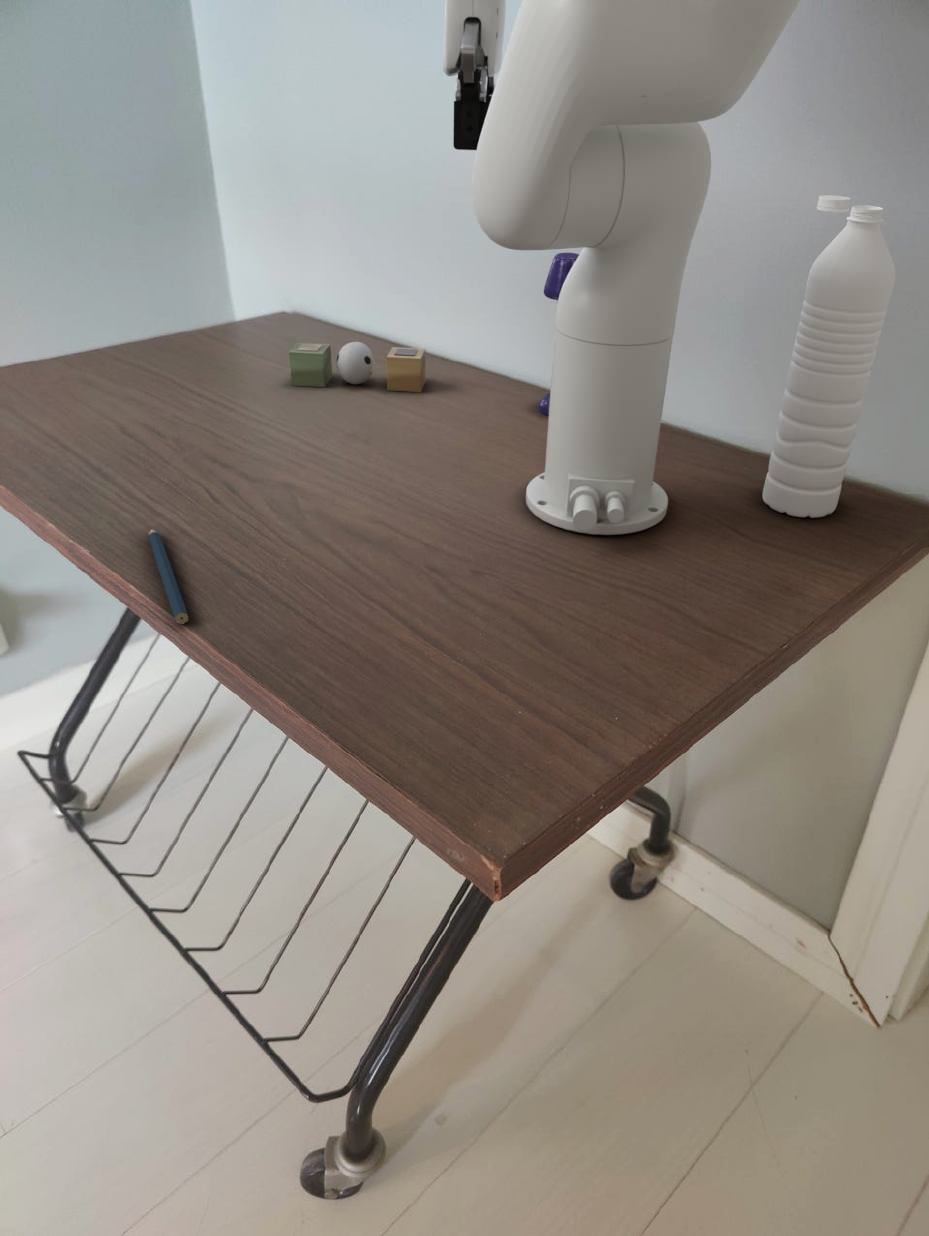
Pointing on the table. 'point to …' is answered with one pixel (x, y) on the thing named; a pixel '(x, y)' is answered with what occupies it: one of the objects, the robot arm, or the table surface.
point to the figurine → (356, 363)
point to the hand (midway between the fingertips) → (475, 144)
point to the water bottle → (830, 364)
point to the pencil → (168, 578)
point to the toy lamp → (556, 296)
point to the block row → (316, 367)
